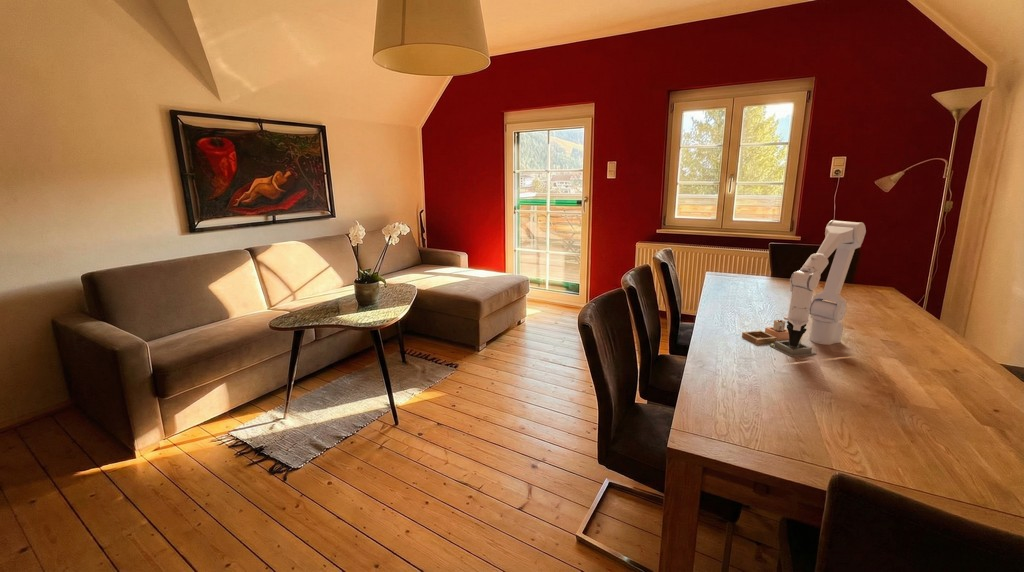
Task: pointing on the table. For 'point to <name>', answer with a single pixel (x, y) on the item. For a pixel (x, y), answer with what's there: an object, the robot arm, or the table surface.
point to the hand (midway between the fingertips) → (793, 343)
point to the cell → (793, 346)
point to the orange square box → (777, 333)
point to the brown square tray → (759, 337)
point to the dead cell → (779, 325)
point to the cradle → (791, 352)
